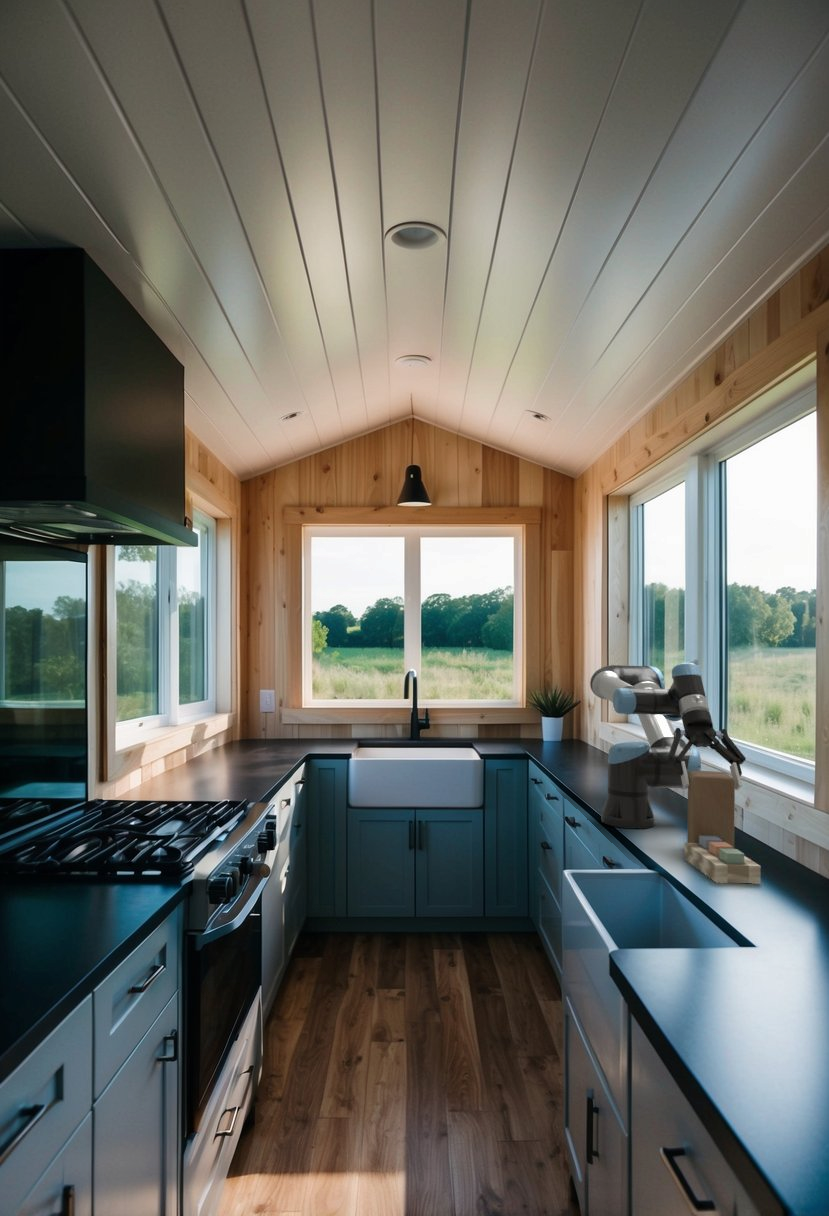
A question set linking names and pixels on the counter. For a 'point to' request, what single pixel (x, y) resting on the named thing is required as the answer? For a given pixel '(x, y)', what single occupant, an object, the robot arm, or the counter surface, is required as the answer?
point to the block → (711, 806)
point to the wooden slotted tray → (722, 866)
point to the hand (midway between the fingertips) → (712, 787)
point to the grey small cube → (707, 841)
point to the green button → (731, 856)
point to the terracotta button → (718, 847)
